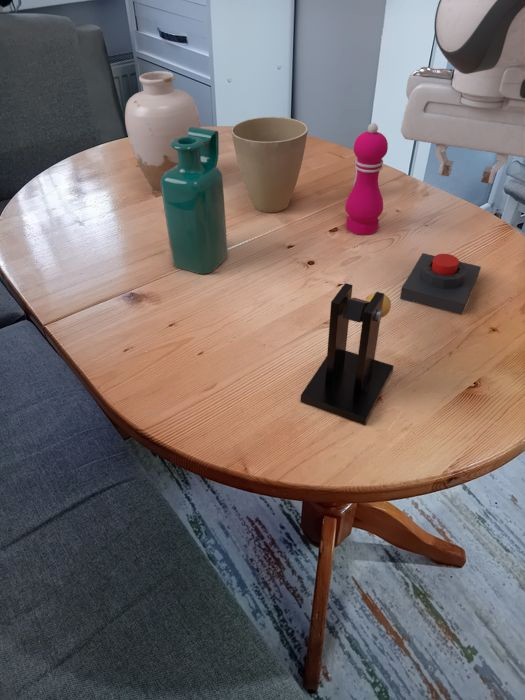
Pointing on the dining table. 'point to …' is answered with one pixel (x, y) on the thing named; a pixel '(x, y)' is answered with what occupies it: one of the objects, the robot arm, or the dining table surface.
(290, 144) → the plant pot
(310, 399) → the stand
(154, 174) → the vase
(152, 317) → the dining table surface
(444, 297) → the block
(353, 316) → the lever
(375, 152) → the pepper mill
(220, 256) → the pitcher
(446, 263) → the bell button
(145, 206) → the dining table surface
